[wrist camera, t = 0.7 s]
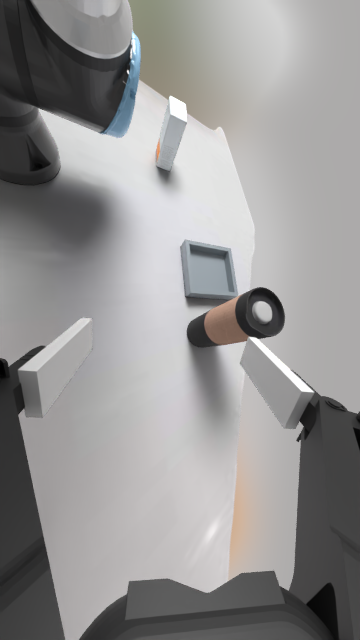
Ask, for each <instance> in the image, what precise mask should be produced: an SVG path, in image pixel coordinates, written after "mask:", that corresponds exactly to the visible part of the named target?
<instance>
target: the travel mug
mask: <svg viewBox="0 0 360 640" xmlns="http://www.w3.org/2000/svg"><path fill="white" fill-rule="evenodd" d="M284 322H285V314H284V309H283V306H282V304H281V302H280V300H279V299H278V297H277V296H276V295H275V294H274V293H273V292H272V291H270V290H268V289H267V288H263V287H259V288H255V289H252V290H250V291H248V292H246V293H244V294H242V295H240V296H238V297H236V298H234V299H232V300H230V301H228V302H226V303H224V304H222V305H219V306H217V307H215V308H213V309H211V310H210V311H208V312H206V313H204V314H203V315H201V316H199V317H197V318H196V319H194V320H192V321H191V322H190V324H189V325H188V328H187V335H188V338H189V340H190V342H191V343H192V344H193V345H195V346H197V347H210V346H219V345H227V344H232V343H238V342H244V341H247V339H248V337H254V338H257V339H261V338H266V337H271V336H275V335H277V334H278V333H280V331H281V330H282V328H283V326H284Z"/></svg>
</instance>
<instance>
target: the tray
mask: <svg viewBox="0 0 360 640" xmlns="http://www.w3.org/2000/svg"><path fill="white" fill-rule="evenodd" d="M181 256H182V266H183V277H184V287H185V297H192V298H209V299H226V300H232V299H234V298H236V297H238V291H237V285H236V279H235V272H234V266H233V260H232V254H231V249H230V248H225V247H220V246H215V245H210V244H205V243H200V242H195V241H190V240H185V241H184V242H183V244H182V245H181Z"/></svg>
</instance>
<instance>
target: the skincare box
mask: <svg viewBox="0 0 360 640" xmlns="http://www.w3.org/2000/svg"><path fill="white" fill-rule="evenodd" d="M186 124H187V112H186V104H184V103H183V102H181V101H179V100H177V99H176V98H174V97H172V96H170V97H169V101H168V105H167V109H166V113H165V117H164V121H163V125H162V129H161V133H160V137H159V141H158V145H157V149H156V157H157V161H156V166H157V167H160V168H162V169H165V170H167V171H170V170H171V167H172V164H173V161H174V158H175V155H176V153H177V150H178V147H179V144H180V141H181V138H182V135H183V132H184V129H185V126H186Z"/></svg>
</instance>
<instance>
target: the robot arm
mask: <svg viewBox="0 0 360 640" xmlns="http://www.w3.org/2000/svg"><path fill="white" fill-rule="evenodd" d="M132 22H133V21H132V15H131V9H130V6H129V2H128V0H0V179H3V180H6V181H9V182H13V183H18V184H28V185H31V184H40V183H44V182H47V181H49V180H51V179H52V178H54V177H55V176H56V175H57V173H58V171H59V169H60V157H59V153H58V148H57V146H56V143H55V141H54V139H53V137H52V135H51V133H50V131H49V130H48V128H47V126H46V124H45V122H44V120H43V118H42V116H41V114H40V112H39V110H38V108H40V109H42V110H45V111H47V112H50V113H52V114H54V115H57V116H59V117H62V118H64V119H67V120H69V121H72V122H74V123H77V124H79V125H82V126H84V127H86V128H89V129H91V130H94V131H96V132H98V133H100V134H107V135H110V136H113V137H117V138H120V137H123V136H124V135H125V134H126V132H127V130H128V128H129V125H130V122H131V119H132V115H133V110H134V105H135V95H136V92H137V87H138V81H139V73H140V42H139V39H138V38H137V36H136V35H135V34H134V32H133V31H132V30H133V23H132ZM91 351H92V319H90V318H81V319H80V320H78V321H77V322H76V323H75V324H73V325H72V326H71V327H70V328H69V329H67V330H66V331H65V332H64V333H62V334H61V335H60V336H59V337H57V338H56V339H55V340H54V341H53V342H51V343H50V344H49V345H48V346H39V347H37V348H34V349H32V350H31V351H29V352H28V353H27V354H25V356H23V357H21V358H20V359H19V360H17V361H16V362H14V363H13V364H12V365H10V366H9V367H8V363H7V361H6V360H5V359H2V358H0V640H65V637H64V632H63V628H62V623H61V618H60V613H59V608H58V603H57V599H56V594H55V589H54V584H53V579H52V575H51V570H50V565H49V560H48V556H47V551H46V547H45V542H44V537H43V533H42V528H41V523H40V518H39V513H38V508H37V504H36V499H35V494H34V489H33V484H32V479H31V475H30V470H29V465H28V460H27V455H26V451H25V446H24V441H23V436H22V431H21V426H20V422H19V417H18V414H19V413H20V412H21V411H22V410H23V409H25V415H26V417H37V418H43V417H44V416H45V414H46V413H47V411H48V410H49V409H50V407H51V406H52V405H53V403H54V402H55V400H56V399H57V398H58V396H59V395H60V393H61V392H62V391H63V389H64V388H65V387H66V385H67V384H68V382H69V381H70V380H71V378H72V377H73V376H74V374H75V373H76V371H77V370H78V369H79V367H80V366H81V364H82V363H83V362H84V360H85V359H86V358H87V356H88V355H89V353H90V352H91ZM240 364H241V366H242V367H243V369H244V370H245V372H246V373H247V375H248V376H249V378H250V379H251V381H252V382H253V384H254V385H255V387H256V388H257V390H258V391H259V392H260V394H261V395H262V397H263V398H264V400H265V401H266V403H267V404H268V406H269V407H270V409H271V410H272V412H273V413H274V415H275V416H276V417H277V419H278V421H279V422H280V423H281V425H282V426H283V428H288V429H295V428H296V426H297V425H298V423H299V421H300V422H301V423H302V424H303V426H304V427H303V430H302V431H301V433H300V435H299V437H298V438H297V441H298V442H299V440H301V449H300V469H299V488H298V508H297V528H296V548H295V567H294V575H293V579H292V583H291V586H290V589H289V591H288V590H286V589H284V588H282V587H280V586H279V584H278V580H277V578H276V575H275V572H274V571H265V572H251V573H241V574H239V575H238V576H236V577H235V578H233V579H232V580H230V581H228V582H227V583H225V584H223V585H222V586H220V587H218V588H217V589H215V590H214V591H212V592H210V593H204V592H202V591H199V590H196V589H194V588H191V587H188V586H186V585H183V584H181V583H178V582H175V581H173V580H170V579H155V580H142V581H129V585H128V592H127V595H125V596H123V597H121V598H119V599H118V600H116V601H115V602H114V603H112V604H111V605H110V606H108V607H107V608H106V609H105V610H104V611H103V612H102V613H101V614H100V615H99V616H98V617H97V618H96V619H95V620H94V621H93V622H92V624H91V625H90V626H89V627H88V628H87V630H86V631H85V632H84V633H83V635H82V636H81V638H80V639H79V640H360V412H359V413H358V414H356V413H353V412H349V411H347V409H346V408H345V407H344V406H343V405H342V404H340V403H339V402H337V401H336V400H333V399H331V398H329V397H325V396H322V397H321V396H320V395H319V394H318V393H317V392H316V391H315V390H314V389H313V388H312V387H311V386H309V385H308V384H307V383H306V382H305V381H304V380H303V379H301V377H300V376H299V375H298V374H296V373H295V372H293V371H292V370H290V369H289V368H288V367H287V366H286V365H285V364H284V363H283V362H282V361H280V360H279V359H278V358H277V357H276V356H275V355H274V354H273V353H272V352H271V351H270V350H269V349H268V348H267V347H266V346H264V345H263V344H262V343H261V342H260V341H259V340H258V339H257V338H254V337H248V339H247V342H246V346H245V349H244V352H243V355H242V358H241V361H240Z"/></svg>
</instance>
